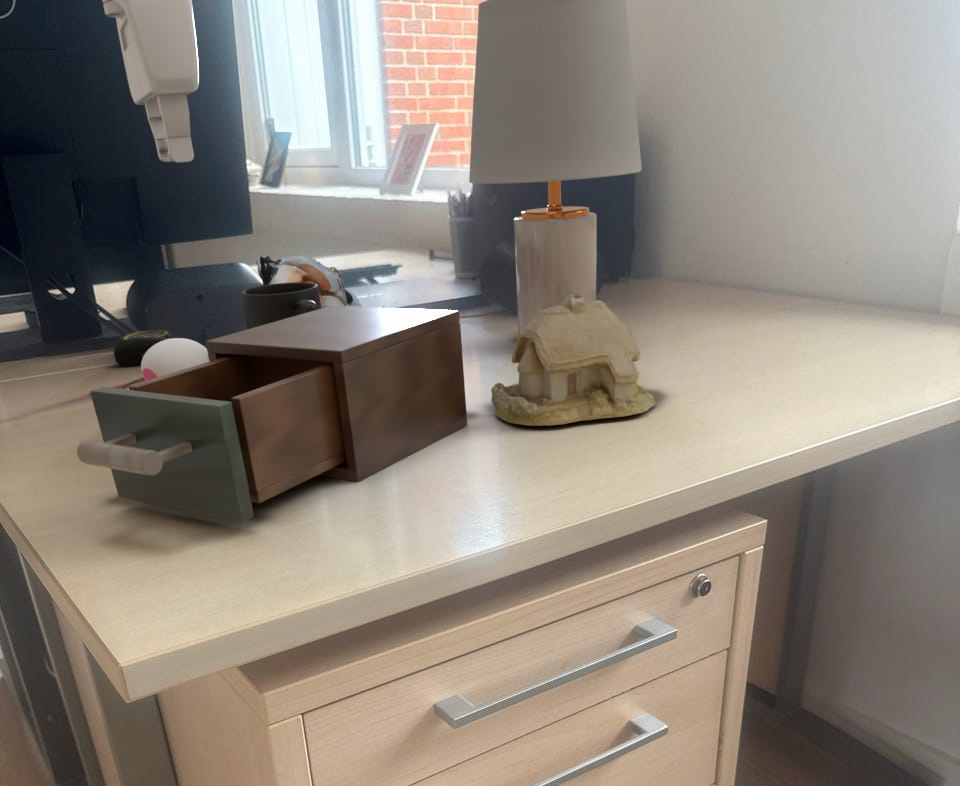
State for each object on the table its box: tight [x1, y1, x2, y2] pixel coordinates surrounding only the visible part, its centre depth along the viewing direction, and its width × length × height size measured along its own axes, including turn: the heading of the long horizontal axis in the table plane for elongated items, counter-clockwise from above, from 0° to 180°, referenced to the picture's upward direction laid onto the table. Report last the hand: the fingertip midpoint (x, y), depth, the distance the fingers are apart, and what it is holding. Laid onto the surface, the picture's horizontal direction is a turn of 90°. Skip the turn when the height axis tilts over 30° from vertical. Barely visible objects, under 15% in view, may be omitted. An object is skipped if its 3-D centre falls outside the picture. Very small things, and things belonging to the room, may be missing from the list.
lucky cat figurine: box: [255, 254, 363, 309], centre depth 111 cm, size 15×12×14 cm
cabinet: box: [205, 305, 468, 482], centre depth 76 cm, size 16×14×10 cm
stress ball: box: [140, 337, 209, 381], centre depth 98 cm, size 8×8×7 cm
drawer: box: [76, 355, 347, 523], centre depth 66 cm, size 19×13×8 cm, turn 149°
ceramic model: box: [490, 294, 656, 427], centre depth 80 cm, size 14×11×10 cm
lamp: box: [468, 0, 643, 335], centre depth 101 cm, size 19×19×34 cm
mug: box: [240, 282, 321, 329], centre depth 98 cm, size 8×12×10 cm
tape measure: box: [113, 329, 174, 368], centre depth 111 cm, size 7×7×4 cm
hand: (176, 162), depth 77 cm, fingers open, 8 cm apart
